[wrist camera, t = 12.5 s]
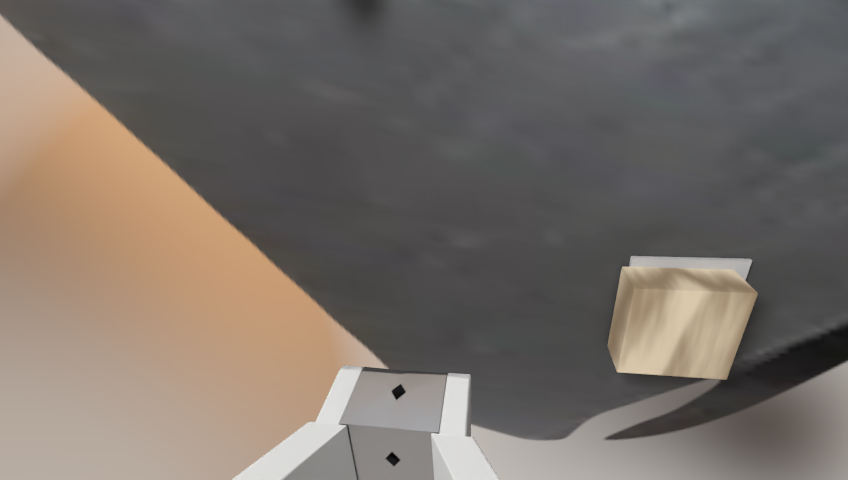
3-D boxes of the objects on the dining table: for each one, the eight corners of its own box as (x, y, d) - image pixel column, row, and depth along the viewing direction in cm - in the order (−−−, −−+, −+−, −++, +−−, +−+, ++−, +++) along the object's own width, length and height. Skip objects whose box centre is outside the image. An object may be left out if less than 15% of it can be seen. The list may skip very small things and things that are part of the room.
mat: (749, 258, 39) (752, 260, 38) (716, 356, 44) (718, 359, 44) (630, 255, 40) (632, 258, 40) (612, 350, 46) (613, 353, 45)
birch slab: (622, 266, 41) (733, 269, 39) (607, 345, 45) (707, 351, 43) (634, 288, 37) (758, 293, 35) (617, 372, 41) (726, 379, 40)
